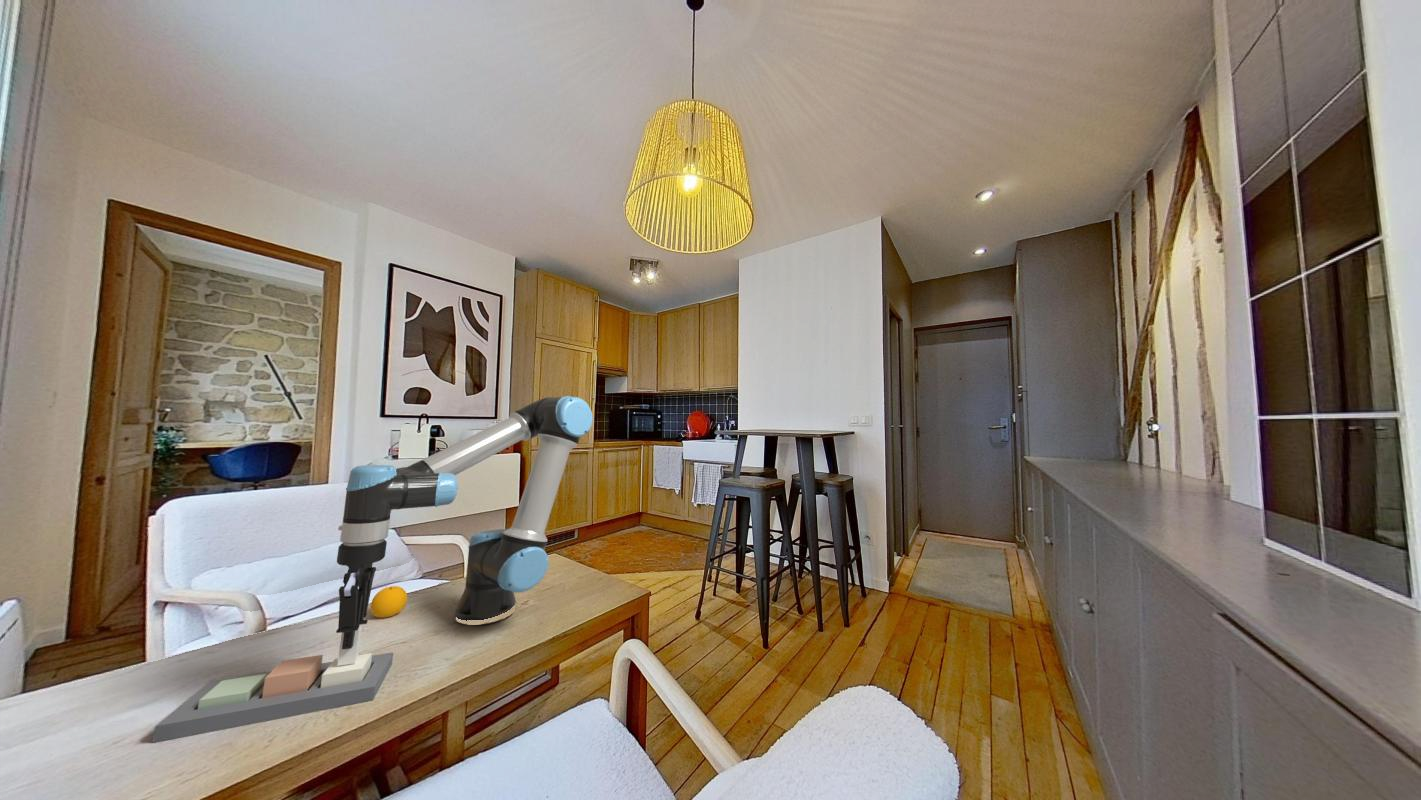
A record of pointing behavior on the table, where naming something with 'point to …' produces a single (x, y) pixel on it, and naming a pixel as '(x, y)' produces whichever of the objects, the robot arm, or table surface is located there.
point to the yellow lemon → (388, 601)
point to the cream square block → (347, 671)
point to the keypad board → (270, 703)
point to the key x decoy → (292, 676)
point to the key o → (233, 691)
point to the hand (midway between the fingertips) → (347, 662)
